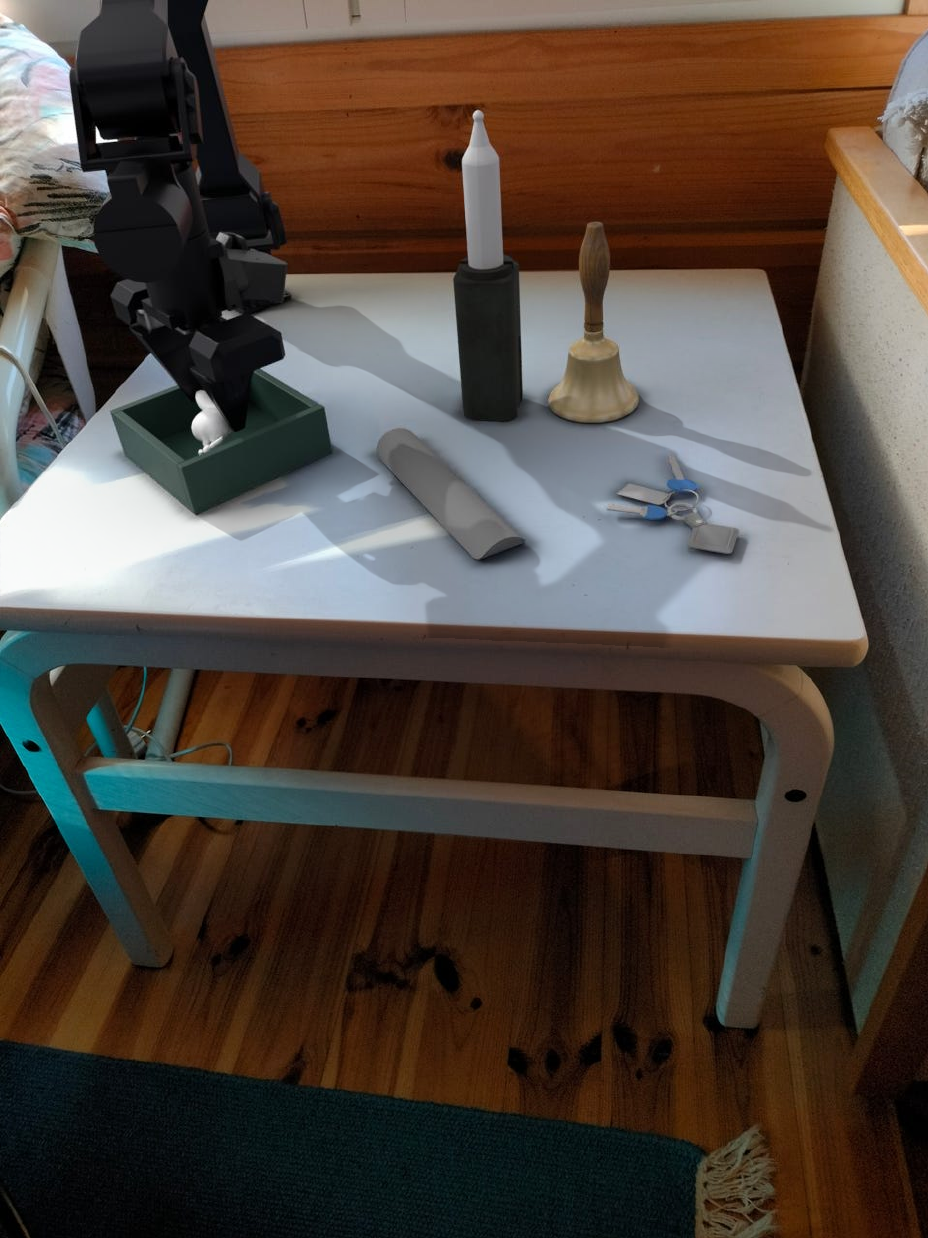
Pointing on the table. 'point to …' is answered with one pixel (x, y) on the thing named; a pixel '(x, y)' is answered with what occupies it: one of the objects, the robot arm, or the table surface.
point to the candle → (487, 293)
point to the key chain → (702, 532)
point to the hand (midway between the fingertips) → (217, 414)
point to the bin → (264, 450)
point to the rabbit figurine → (209, 424)
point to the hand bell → (593, 349)
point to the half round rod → (446, 495)
